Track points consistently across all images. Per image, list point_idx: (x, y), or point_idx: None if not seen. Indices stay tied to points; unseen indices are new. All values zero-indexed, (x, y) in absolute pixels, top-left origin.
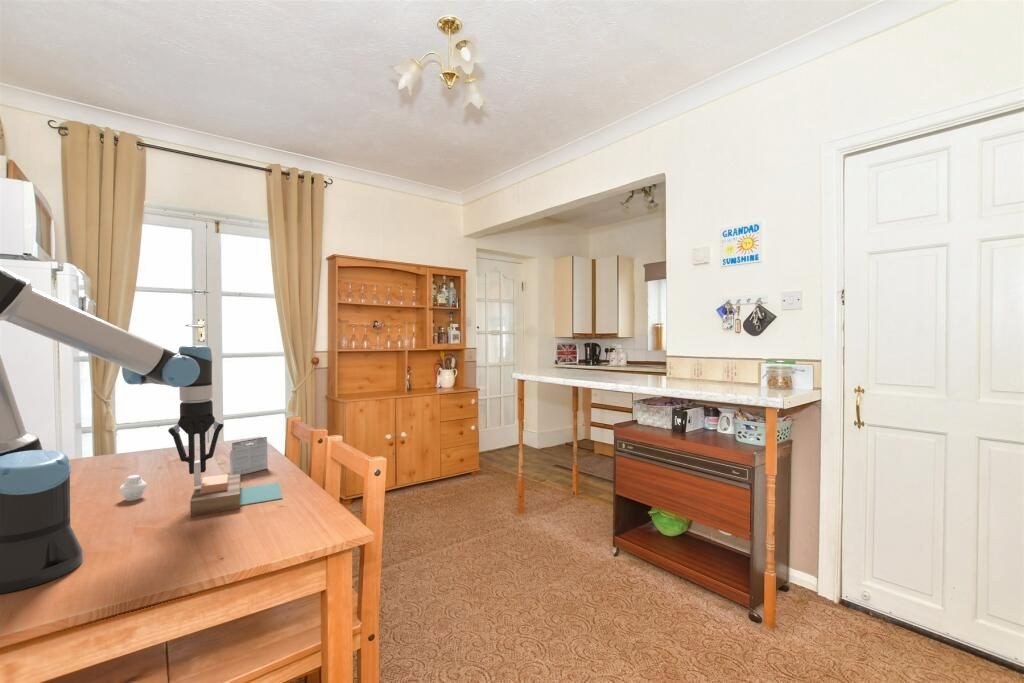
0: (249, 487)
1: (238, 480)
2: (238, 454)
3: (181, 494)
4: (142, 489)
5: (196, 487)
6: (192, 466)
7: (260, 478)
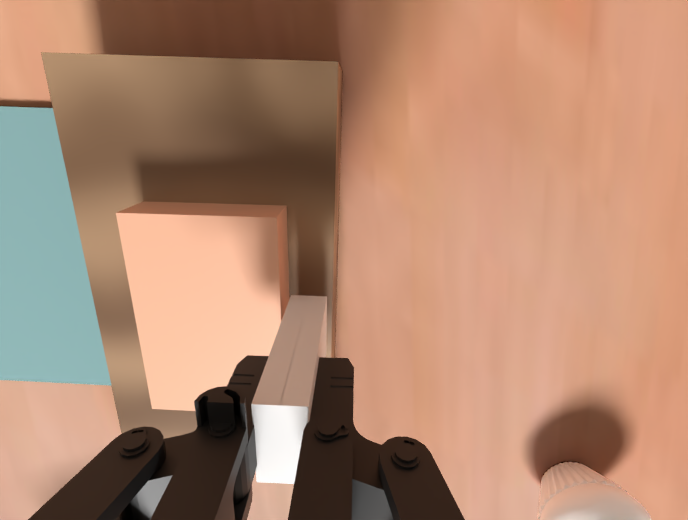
0: None
1: (113, 357)
2: None
3: None
4: (555, 497)
5: None
6: (325, 400)
7: None
